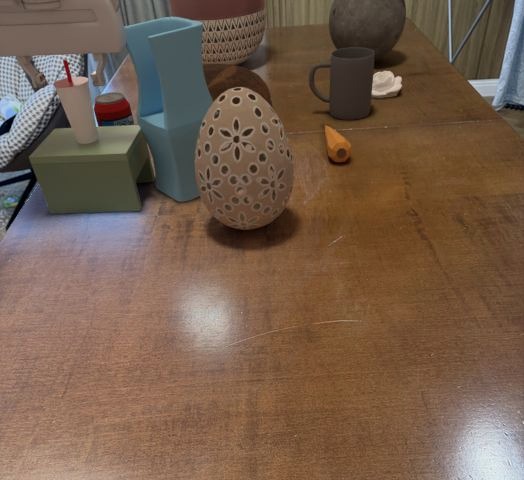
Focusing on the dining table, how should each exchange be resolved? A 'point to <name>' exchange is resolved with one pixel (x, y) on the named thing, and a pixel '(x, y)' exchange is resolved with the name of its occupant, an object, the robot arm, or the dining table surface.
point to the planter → (225, 27)
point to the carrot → (337, 145)
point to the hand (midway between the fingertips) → (70, 86)
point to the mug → (348, 82)
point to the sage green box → (93, 170)
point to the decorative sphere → (367, 24)
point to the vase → (170, 98)
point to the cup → (77, 106)
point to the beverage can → (112, 110)
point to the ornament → (243, 161)
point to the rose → (385, 84)
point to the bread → (233, 80)
